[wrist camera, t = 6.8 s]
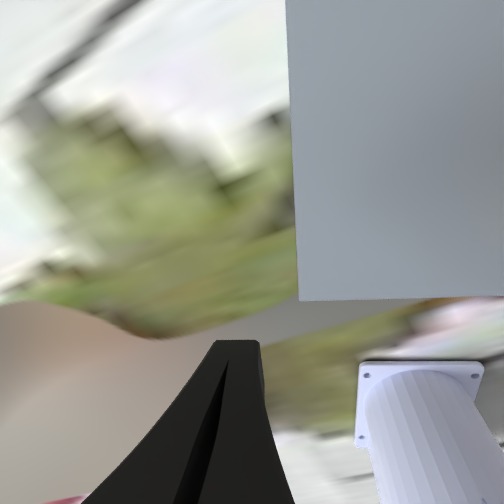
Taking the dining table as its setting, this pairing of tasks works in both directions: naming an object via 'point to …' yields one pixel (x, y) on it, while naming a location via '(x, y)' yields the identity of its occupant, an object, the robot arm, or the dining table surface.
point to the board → (397, 147)
